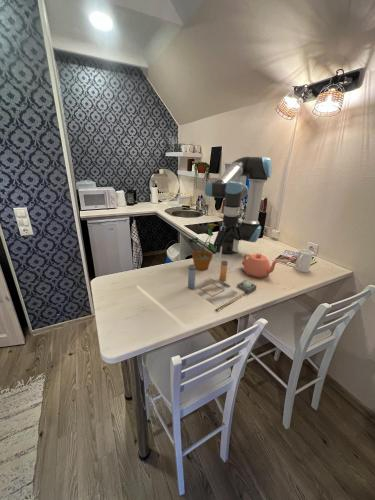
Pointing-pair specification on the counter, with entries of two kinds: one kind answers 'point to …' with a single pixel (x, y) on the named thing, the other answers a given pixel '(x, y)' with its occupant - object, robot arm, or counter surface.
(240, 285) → the button base
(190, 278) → the blue marker
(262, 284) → the counter surface
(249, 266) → the teapot
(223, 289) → the clipboard
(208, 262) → the potted plant
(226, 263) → the orange marker
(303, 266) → the mug
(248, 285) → the button
